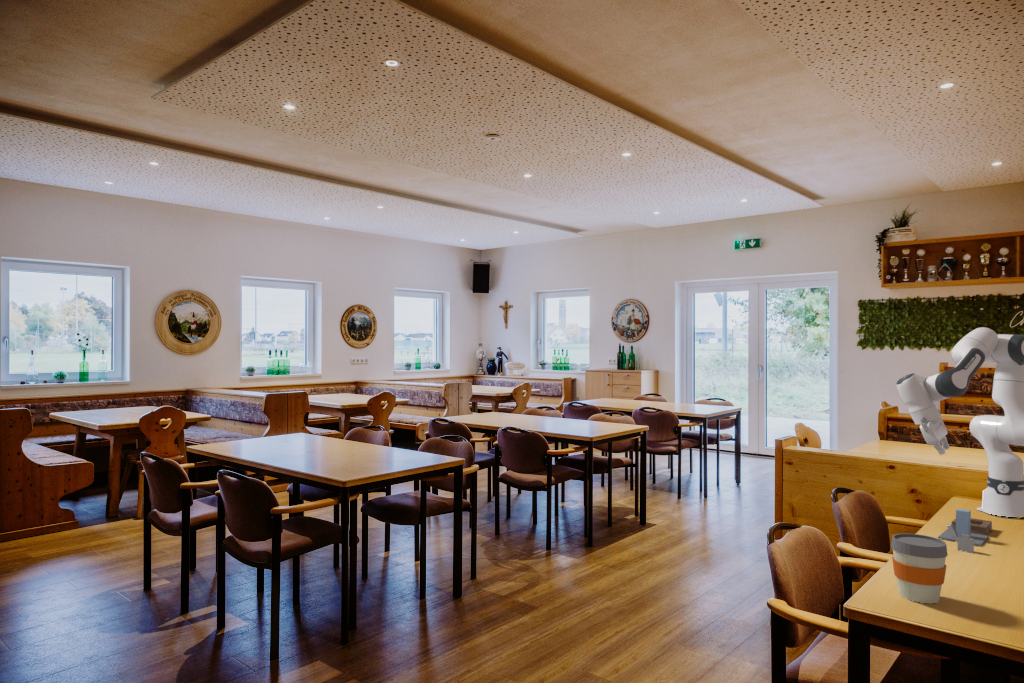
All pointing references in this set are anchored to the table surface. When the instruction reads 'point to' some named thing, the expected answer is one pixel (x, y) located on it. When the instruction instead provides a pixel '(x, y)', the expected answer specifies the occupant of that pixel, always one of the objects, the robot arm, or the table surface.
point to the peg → (963, 522)
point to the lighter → (962, 540)
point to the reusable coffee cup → (919, 566)
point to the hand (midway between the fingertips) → (945, 451)
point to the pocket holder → (978, 526)
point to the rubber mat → (977, 538)
